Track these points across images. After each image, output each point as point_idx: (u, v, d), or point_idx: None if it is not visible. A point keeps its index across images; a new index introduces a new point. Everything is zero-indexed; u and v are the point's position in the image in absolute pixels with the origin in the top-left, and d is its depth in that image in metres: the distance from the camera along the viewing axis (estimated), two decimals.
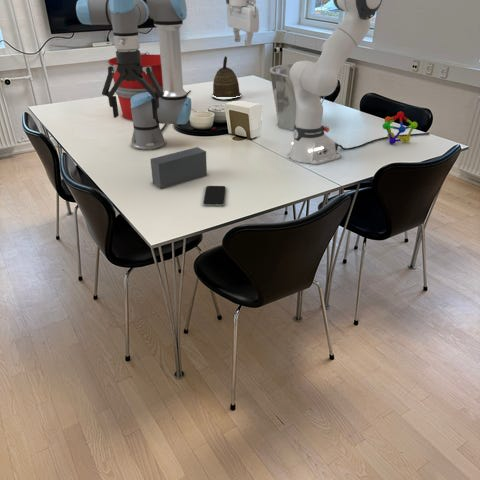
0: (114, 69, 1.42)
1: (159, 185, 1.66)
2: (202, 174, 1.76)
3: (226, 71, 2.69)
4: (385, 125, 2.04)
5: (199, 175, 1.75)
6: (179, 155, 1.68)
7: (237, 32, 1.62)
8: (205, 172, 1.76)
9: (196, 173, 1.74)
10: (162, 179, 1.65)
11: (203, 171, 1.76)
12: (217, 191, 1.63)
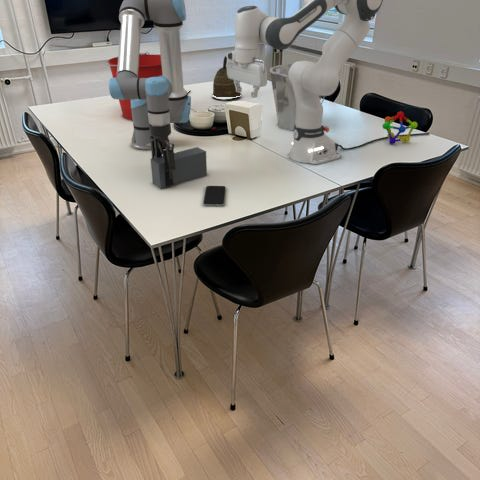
0: None
1: (159, 185, 1.66)
2: (202, 174, 1.76)
3: (226, 71, 2.69)
4: (385, 125, 2.04)
5: (199, 175, 1.75)
6: (179, 155, 1.68)
7: (238, 83, 1.72)
8: (205, 172, 1.76)
9: (196, 173, 1.74)
10: (162, 179, 1.65)
11: (203, 171, 1.76)
12: (217, 191, 1.63)
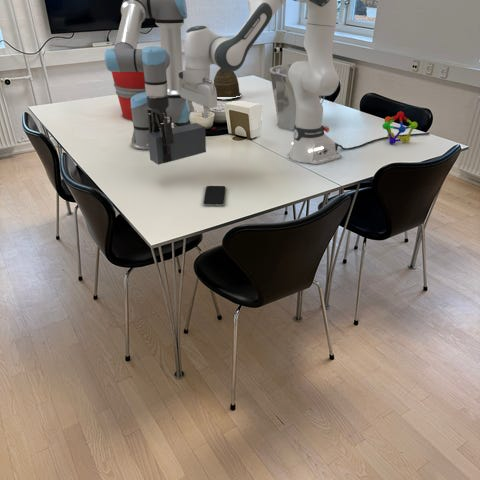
0: None
1: (157, 161, 1.61)
2: (201, 151, 1.71)
3: (226, 71, 2.69)
4: (385, 125, 2.04)
5: (198, 151, 1.70)
6: (178, 130, 1.63)
7: (190, 103, 1.68)
8: (204, 149, 1.71)
9: (195, 149, 1.69)
10: (160, 154, 1.60)
11: (202, 147, 1.71)
12: (217, 191, 1.63)
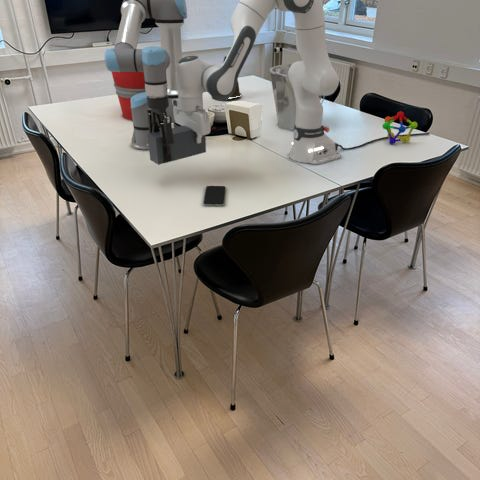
0: None
1: (156, 161, 1.61)
2: (201, 151, 1.71)
3: None
4: (385, 125, 2.04)
5: (198, 152, 1.70)
6: (178, 130, 1.63)
7: None
8: (204, 149, 1.71)
9: (195, 149, 1.69)
10: (159, 154, 1.60)
11: (202, 147, 1.71)
12: (217, 191, 1.63)
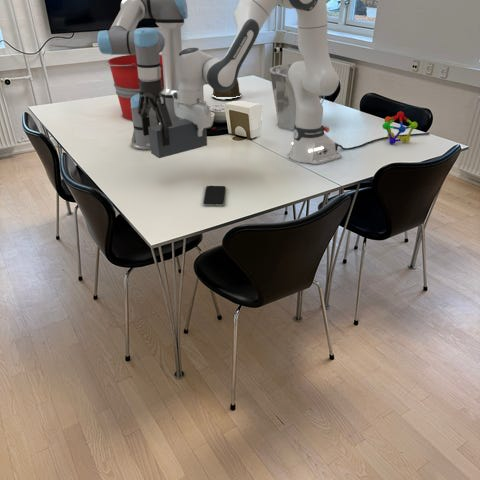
0: None
1: (157, 154, 1.60)
2: (202, 144, 1.70)
3: None
4: (385, 125, 2.04)
5: (199, 145, 1.69)
6: (178, 123, 1.62)
7: None
8: (205, 142, 1.70)
9: (196, 143, 1.68)
10: (160, 147, 1.59)
11: (203, 141, 1.69)
12: (217, 191, 1.63)
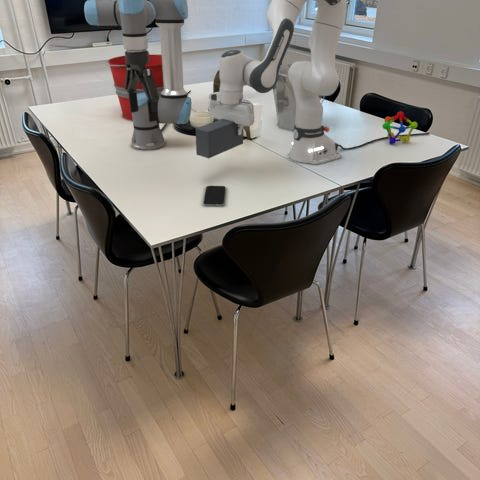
0: None
1: (207, 154, 1.64)
2: (240, 143, 1.77)
3: None
4: (385, 125, 2.04)
5: (238, 143, 1.76)
6: (221, 123, 1.67)
7: None
8: (242, 140, 1.77)
9: (235, 141, 1.74)
10: (210, 147, 1.63)
11: (241, 139, 1.76)
12: (217, 191, 1.63)
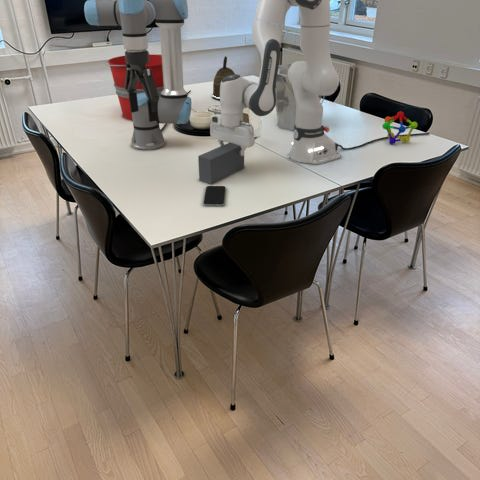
0: None
1: (209, 181, 1.70)
2: (241, 167, 1.83)
3: (226, 71, 2.69)
4: (385, 125, 2.04)
5: (239, 168, 1.82)
6: (223, 150, 1.73)
7: (222, 142, 1.81)
8: (243, 165, 1.83)
9: (237, 166, 1.80)
10: (212, 174, 1.69)
11: (242, 163, 1.82)
12: (217, 191, 1.63)
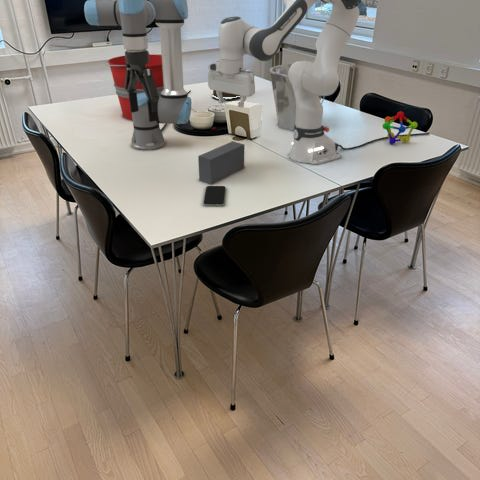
0: None
1: (209, 181, 1.70)
2: (241, 167, 1.83)
3: None
4: (385, 125, 2.04)
5: (239, 168, 1.82)
6: (223, 150, 1.73)
7: (220, 94, 1.70)
8: (243, 165, 1.83)
9: (237, 166, 1.80)
10: (212, 174, 1.69)
11: (242, 163, 1.82)
12: (217, 191, 1.63)
